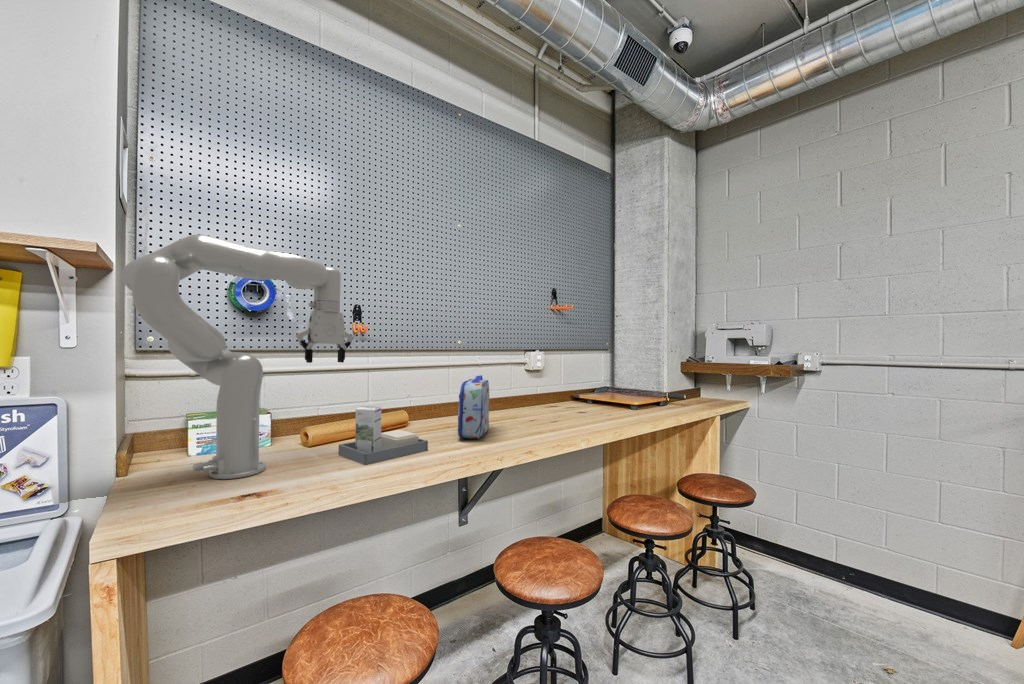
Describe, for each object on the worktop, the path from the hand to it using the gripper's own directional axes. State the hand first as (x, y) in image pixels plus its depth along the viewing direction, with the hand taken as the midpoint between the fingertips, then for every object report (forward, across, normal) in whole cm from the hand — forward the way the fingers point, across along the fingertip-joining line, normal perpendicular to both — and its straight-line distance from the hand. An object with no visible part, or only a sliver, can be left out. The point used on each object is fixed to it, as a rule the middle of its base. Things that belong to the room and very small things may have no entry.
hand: (325, 362), depth 132 cm
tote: (+28, +12, -16) cm, 34 cm away
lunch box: (+28, +52, -11) cm, 60 cm away
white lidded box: (+27, +17, -15) cm, 35 cm away
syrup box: (+27, +7, -16) cm, 32 cm away
